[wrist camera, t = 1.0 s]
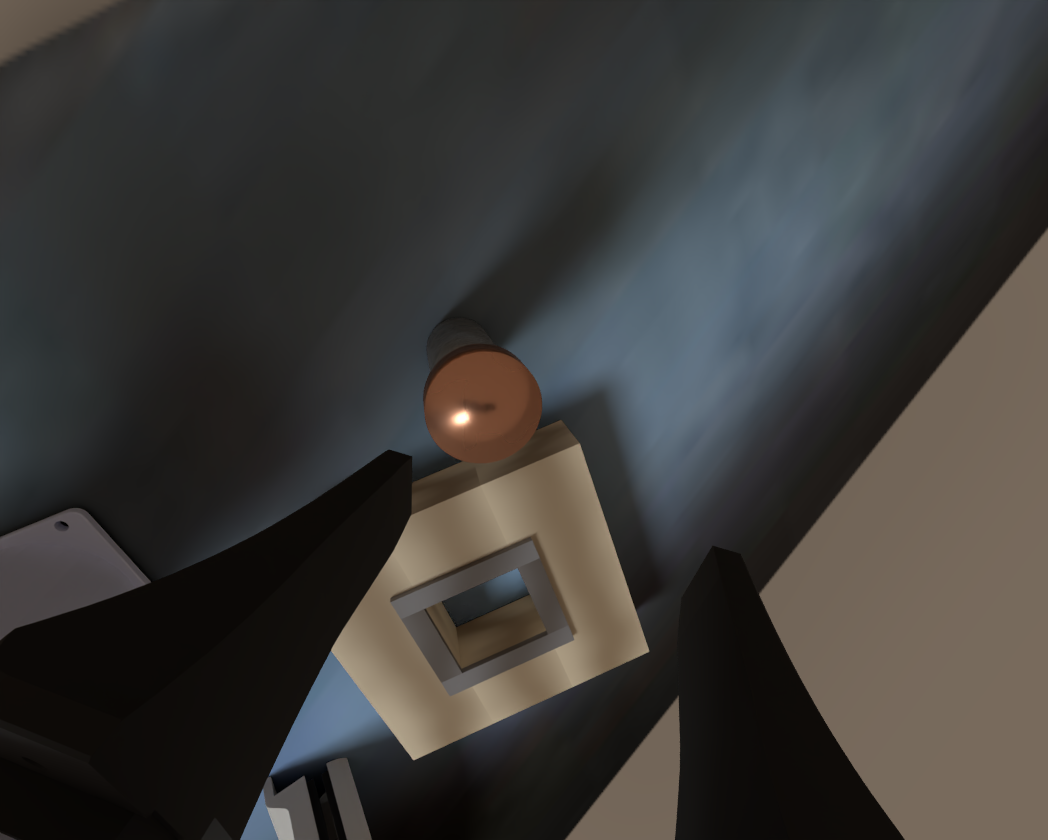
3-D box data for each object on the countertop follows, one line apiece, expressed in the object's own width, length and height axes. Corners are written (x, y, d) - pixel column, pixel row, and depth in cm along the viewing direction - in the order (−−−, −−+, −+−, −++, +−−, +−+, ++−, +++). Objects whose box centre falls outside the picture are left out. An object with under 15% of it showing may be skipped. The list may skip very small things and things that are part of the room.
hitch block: (412, 713, 31) (413, 765, 28) (287, 535, 25) (271, 578, 22) (628, 615, 32) (651, 655, 29) (561, 419, 26) (581, 445, 23)
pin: (437, 399, 24) (452, 480, 17) (403, 327, 22) (404, 380, 15) (509, 369, 24) (556, 436, 17) (481, 296, 23) (520, 333, 15)
